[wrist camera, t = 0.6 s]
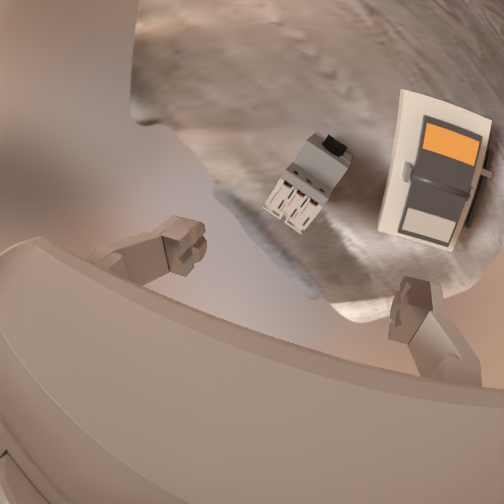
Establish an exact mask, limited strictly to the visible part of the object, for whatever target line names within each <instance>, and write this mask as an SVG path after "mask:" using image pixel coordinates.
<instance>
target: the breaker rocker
mask: <svg viewBox="0 0 504 504" xmlns="http://www.w3.org/2000/svg"><path fill="white" fill-rule="evenodd" d="M482 138H483V136H481V135H479V134H477V133H474V132H472V131H470V130H467V129H465V128H462V127H459V126H457V125H454V124H451V123H448V122H446V121H443V120H440V119H437V118H434V117H430V116H427V115H424V114H423V121H422V127H421V133H420V139H419V144H418V150H417V155H416V160H415V164H414V169H413V171H412V172H411V176H410V181H411V182H410V186H409V190H408V194H407V198H406V201H405V205H404V209H403V212H402V216H401V219H400V222H399V226H398V229H397V230H398V233H400V234H404V235H408V236H411V237H415V238H418V239H422V240H425V241H428V242H432V243H435V244H438V245H442V246H445V247H448V246H449V244H450V242H451V239H452V237H453V234H454V232H455V229H456V227H457V224H458V222H459V219H460V216H461V213H462V211H463V208H464V205H465V202H466V199H468V197H469V189H470V186H471V183H472V179H473V176H474V172H475V168H476V164H477V161H478V156H479V152H480V148H481V143H482Z"/></svg>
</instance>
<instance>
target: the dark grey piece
mask: <svg viewBox="0 0 504 504" xmlns="http://www.w3.org/2000/svg"><path fill="white" fill-rule="evenodd" d="M488 146H489V139H488V143H487V148H486V152H485V157H484V161H483V165H482V169H481V172H480V176H479V179H478V183H477V186H476V189H475V192H474V196H473V199H472V202H471V205H470V207H469V210H468V213H467V216H466V219H465V221H464V224H463V226H464V225H465V222H466V220H467V217H468V214H469V212H470V209H471V206H472V203H473V200H474V197H475V194H476V191H477V188H478V185H479V181H480V178H481V175H482V178H481V182H480V185H479V188H478V192H477V195H476V198H475V201H474V204H473V207H472V209H471V212H470V215H469V218H468V220H467V223H466V228H467V229H469V228H470V227H471V225H472V222H473V220H474V217H475V214H476V212H477V209H478V206H479V203H480V200H481V197H482V194H483V191H484V188H485V185H486V181H487V178H490V179H491V175H492V172H491V171H490V167H491V163H492V159H493V155H494V152H493V151H492V150H489V152H488V156H487V160H486V164H485V168H484V163H485V159H486V155H487V151H488ZM463 226H462V227H463Z"/></svg>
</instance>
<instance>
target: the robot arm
mask: <svg viewBox="0 0 504 504" xmlns="http://www.w3.org/2000/svg"><path fill="white" fill-rule="evenodd" d="M204 233H205V225H204V224H203V223H202V222H198V221H195V220H191V219H187V218H182V217H179V216H171V217H169V218H168V219H167V220H165V221H164V222H163V223H161V224H160V225H159V226H158V227H156V228H155V229H154V230H152V231H151V232H150V233H149V232H145V233H142V234H138V235H135V236H132V237H128V238H125V239H122V240H119V241H115V242H112V243H109V244H106V245H103V246H101V247H99V248H98V249H97V250H96V251H94V252H93V253H92V254H91V255H89V256H88V257H87V258H86V259H84V258H83V257H81V256H79V255H77V254H75V253H73V252H71V251H69V250H67V249H65V248H64V247H62V246H60V245H58V244H56V243H54V242H52V241H51V240H49V239H48V238H46V237H36V238H32V239H28V240H25V241H22V242H20V243H17V244H15V245H13V246H11V247H9V248H7V249H6V250H5V251H3V252H1V253H0V504H504V389H497V388H487V387H482V380H481V367H480V360H479V359H478V357H477V356H476V354H475V353H474V351H473V350H472V348H471V347H470V345H469V344H468V342H467V341H466V339H465V338H464V336H463V335H462V333H461V332H460V331H459V329H458V328H457V326H456V325H455V324H454V322H453V321H452V319H451V318H450V317H449V316H448V315H446V313H445V306H444V299H443V293H442V287H441V285H440V284H438V283H434V282H430V281H425V280H421V279H417V278H413V277H410V276H406V275H405V276H404V277H403V279H402V281H401V284H400V291H398V292H396V295H395V297H394V299H393V303H392V306H391V311H390V317H391V319H392V321H391V323H390V325H389V335H388V339H390V340H394V341H397V342H401V343H404V344H408V347H409V350H410V352H411V354H412V357H413V359H414V361H415V364H416V366H417V369H418V371H419V374H420V376H421V377H420V376H415V375H410V374H406V373H401V372H397V371H392V370H388V369H383V368H379V367H375V366H371V365H367V364H363V363H359V362H355V361H351V360H348V359H344V358H340V357H337V356H333V355H330V354H326V353H322V352H319V351H316V350H313V349H309V348H306V347H303V346H299V345H296V344H293V343H290V342H286V341H284V340H281V339H278V338H274V337H272V336H269V335H266V334H263V333H260V332H257V331H254V330H251V329H248V328H245V327H243V326H240V325H237V324H234V323H232V322H229V321H226V320H224V319H221V318H218V317H216V316H213V315H210V314H208V313H205V312H203V311H200V310H198V309H195V308H193V307H190V306H188V305H185V304H183V303H180V302H178V301H175V300H173V299H171V298H168V297H166V296H164V295H161V294H159V293H157V292H154V291H152V290H150V289H148V288H145V287H143V285H145V284H147V283H149V282H151V281H153V280H155V279H157V278H159V277H161V276H163V275H165V274H167V273H169V272H172V273H175V274H178V275H182V276H184V277H186V276H187V275H188V274H189V273H190V271H191V270H192V269H193V268H194V263H197V262H199V261H201V260H202V258H203V257H204V255H205V252H206V249H207V241H206V239H205V238H204V236H203V235H204Z"/></svg>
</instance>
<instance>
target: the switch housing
mask: <svg viewBox="0 0 504 504" xmlns="http://www.w3.org/2000/svg"><path fill="white" fill-rule="evenodd" d="M423 114H424V115H427V116H430V117H434V118H437V119H440V120H443V121H446V122H448V123H451V124H454V125H457V126H459V127H462V128H465V129H467V130H470V131H472V132H474V133H477V134H479V135H481V136H483V138H482V143H481V148H480V152H479V156H478V161H477V164H476V168H475V172H474V176H473V179H472V183H471V186H470V189H469V197H468V199H466V202H465V205H464V208H463V211H462V213H461V216H460V219H459V222H458V224H457V227H456V229H455V232H454V234H453V237H452V239H451V242H450V244H449V246H448V247H445V246H442V245H438V244H435V243H432V242H428V241H425V240H422V239H418V238H415V237H411V236H408V235H404V234H400V233H398V230H397V229H398V226H399V222H400V219H401V216H402V212H403V209H404V205H405V201H406V198H407V194H408V190H409V186H410V182H411V181H410V176H411V172H412V171H413V169H414V164H415V160H416V155H417V150H418V144H419V139H420V133H421V127H422V121H423ZM491 122H492V121H491V120H489V119H487V118H484V117H482V116H480V115H478V114H475V113H473V112H470V111H468V110H465V109H463V108H460V107H458V106H455V105H452V104H449V103H447V102H444V101H441V100H438V99H435V98H432V97H429V96H425V95H422V94H419V93H415V92H411V91H408V90H404V89H401V91H400V101H399V110H398V118H397V125H396V132H395V139H394V145H393V151H392V156H391V162H390V167H389V172H388V177H387V182H386V186H385V191H384V195H383V200H382V204H381V208H380V212H379V216H378V231H379V232H383V233H387V234H391V235H394V236H398V237H402V238H405V239H409V240H412V241H416V242H419V243H423V244H426V245H430V246H433V247H436V248H440V249H443V250H446V251H450V252H452V250H453V248H454V246H455V243H456V241H457V239H458V236H459V234H460V231H461V229H462V226H463V224H464V221H465V219H466V216H467V213H468V210H469V207H470V205H471V202H472V199H473V196H474V192H475V189H476V186H477V183H478V179H479V176H480V172H481V169H482V165H483V161H484V157H485V152H486V148H487V143H488V139H489V134H490V128H491Z"/></svg>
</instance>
